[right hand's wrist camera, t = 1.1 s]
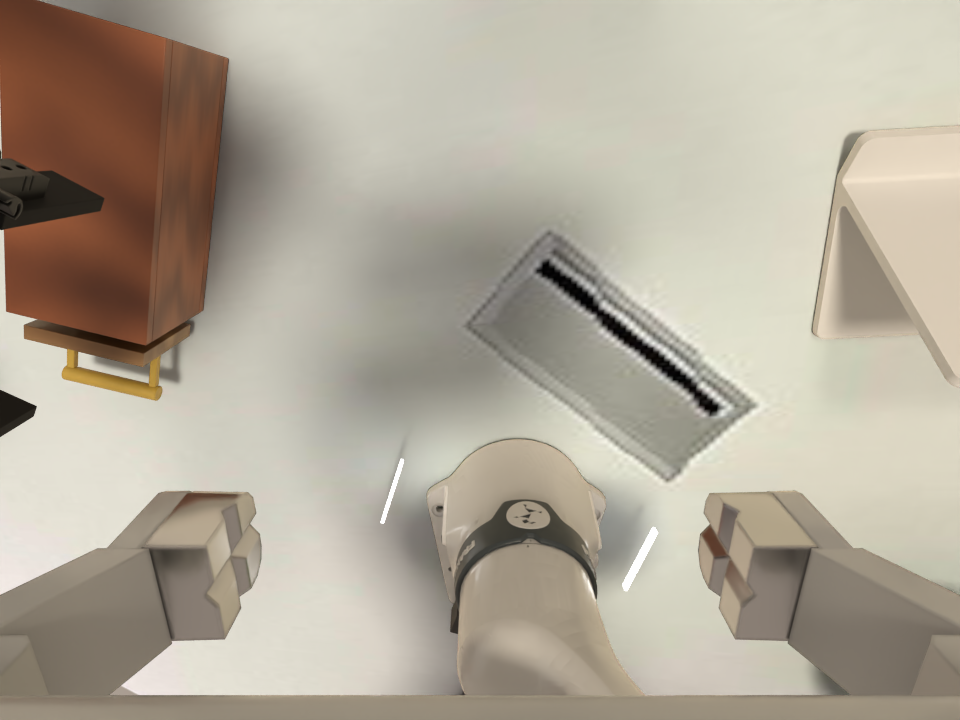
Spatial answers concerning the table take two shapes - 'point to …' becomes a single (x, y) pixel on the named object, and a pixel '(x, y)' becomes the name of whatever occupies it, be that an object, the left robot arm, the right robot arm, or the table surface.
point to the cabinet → (110, 169)
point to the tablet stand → (896, 243)
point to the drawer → (107, 355)
